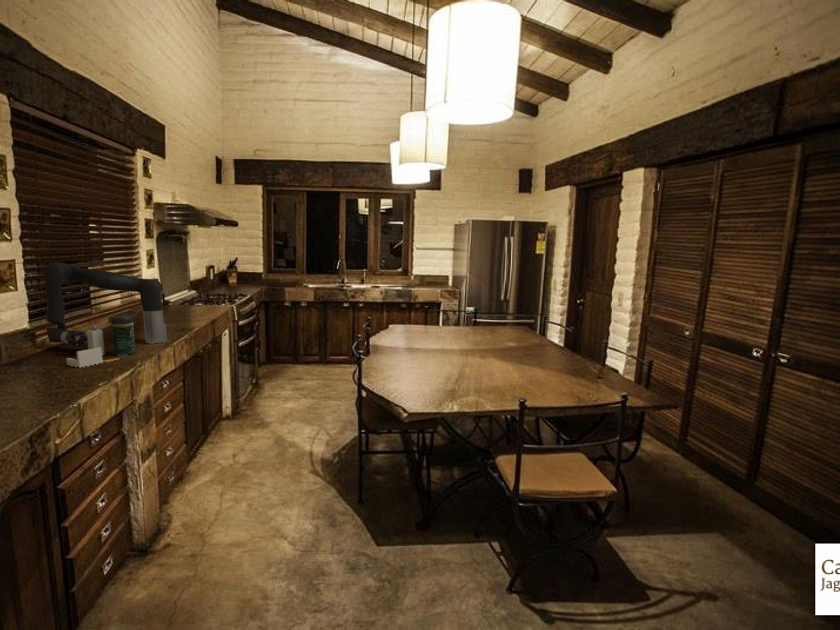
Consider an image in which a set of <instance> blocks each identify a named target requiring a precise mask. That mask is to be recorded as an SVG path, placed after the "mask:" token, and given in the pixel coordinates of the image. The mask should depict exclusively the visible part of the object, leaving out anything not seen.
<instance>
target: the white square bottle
mask: <svg viewBox="0 0 840 630" xmlns="http://www.w3.org/2000/svg"><path fill="white" fill-rule="evenodd" d="M86 334H87V339H88V343H87V346H88V347H87V350H88V349H94V348H99V347H101V348H102V356H104V354H105V343H104V341H105V340H104V341H103V337H104V334H103V329H100V328H98V325H91V329H88V330H86ZM105 355H106V354H105Z"/></svg>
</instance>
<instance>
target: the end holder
mask: <svg viewBox="0 0 840 630" xmlns="http://www.w3.org/2000/svg"><path fill="white" fill-rule="evenodd" d="M65 360H66V365H67V366H68V365H69V366H68V367H73V366H74V368H77V367H79V368H78V369H81V367H83V368H86V367H85V366H87V367H91V366H90V365H92V366H95V365H94V364H96V365H100V364H99V363H101V364H103V363H104V362H103V360H104V359H103V355H102V348H101V347H99V348H94V349H88V348H87V349H83V350H78V351H76V359H75V358H70V357H68V358H66V359H65Z"/></svg>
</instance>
